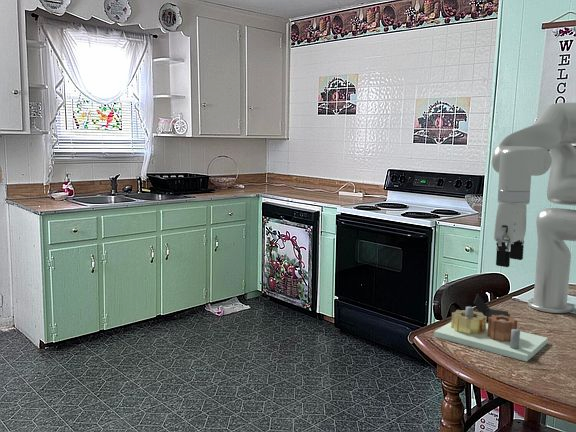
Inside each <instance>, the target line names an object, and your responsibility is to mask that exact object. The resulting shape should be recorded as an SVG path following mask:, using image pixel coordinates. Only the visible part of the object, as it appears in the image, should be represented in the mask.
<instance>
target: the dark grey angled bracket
mask: <svg viewBox="0 0 576 432" xmlns="http://www.w3.org/2000/svg"><path fill="white" fill-rule="evenodd" d="M473 305H474V306H475V308H476V309H477V312H481V313H483V315H484V316H487V320H486V323H488V318H489V317H491V315H504V316H508V317H509V311H507V310H498V309H494V308H493V309H491V308H490V307H489V306H488V305H487V303H486V302H485V300H484V299H483V298H482V296H481V295H480V294H479V293H477V294H476V296H475V299H474V301H473Z"/></svg>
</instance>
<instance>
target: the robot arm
mask: <svg viewBox="0 0 576 432" xmlns="http://www.w3.org/2000/svg"><path fill="white" fill-rule="evenodd" d="M573 144H574V145H575V144H576V102H555V103H552V104H549V105H548V106H546V107H545V108H544V110H543V111H542V112H541V113H540V114H539V116H538V118H537V119H536V120H535V122H534V123H533V124H532V125H530V126H529V125H528V126H526V127H524V128H522V129H519V130H517V131H515V132H512V133H510V134H508V135H507V136H505V137H504V138H503V139H502V140H501V141H500V142H499V144H498V145H497V147H496V148H495V150H494V152H493V153H492V156H491V165H492V168H493V170H494V171H495V172H496V173H498V189H497V203H498V205H497V210H496V215H495V226H494V234H493V238H494V239H493V240H494V241H495V242H496V243H495V245H496V257H495V265H496V266H498V267H503V268H509V267H510V266H511V265H510V264H511V259H512V260H517V261H522V260H523V259H524V249H525V248H524V245H525V237H526V233H527V232H526V231H527V205H530V199H531V198H530V197H531V184H532V176H533V177H536V176H537V177H538V176H542V175H544V174H546V173H548V171H549V175H548V176H549V177H548V181H547V186H546V187H547V190H546V197H547V198H546V199H547V200H548V201H549V202H550V203H553V204H557V205H562V206H563V205H564V206H575V207H576V147H575V146H574V145H573ZM535 220H536V234H537V235H536V236H537V249H536V265H535V278H534V289H533V298H531V299H528V300H527V301H528V302H527V305H528V306H529V307H530V308H532V309H534V310H537V311H540V312H544V313H545V312H546V313H552V314H554V313H555V314H566V313H567V314H568V313H570V312H572V310H573V305H572V304H570V303H568V294H569V286H570V285H569V282H570V272H571V259H572V255H571V254H572V253H571V250H570V248H569V247H568V244H567V243H566V242H565V241H570V242H576V209H570V208H561V207H560V208H559V207H550V208H549V207H548V208H544V209H542V210H541V211H539V213H538V214H537V215H536V219H535Z"/></svg>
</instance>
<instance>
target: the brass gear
mask: <svg viewBox="0 0 576 432" xmlns="http://www.w3.org/2000/svg"><path fill="white" fill-rule="evenodd" d="M465 310H466V309H462V310H461V309H456V310H455V311H454V312H453V311H452V312H451V320H450V322H451V328H454V331H456V332H461V333H465V334H468V335H470V334H479V335H480V334H482V332H486V323H487V322H486V320H487V316H484V315H483V313H481V312H479V311H474V310H473V317H465Z"/></svg>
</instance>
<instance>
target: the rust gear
mask: <svg viewBox="0 0 576 432" xmlns="http://www.w3.org/2000/svg"><path fill="white" fill-rule="evenodd" d="M500 319H503V320H506V321H500ZM487 324H488V333H487V336H489V337H490V339H492V340H498V341H500V342H511V329H518V320H517V319H515V318H514V317H513V316H509V315H508V316H504V315H491V317H489V318H488V322H487Z"/></svg>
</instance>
